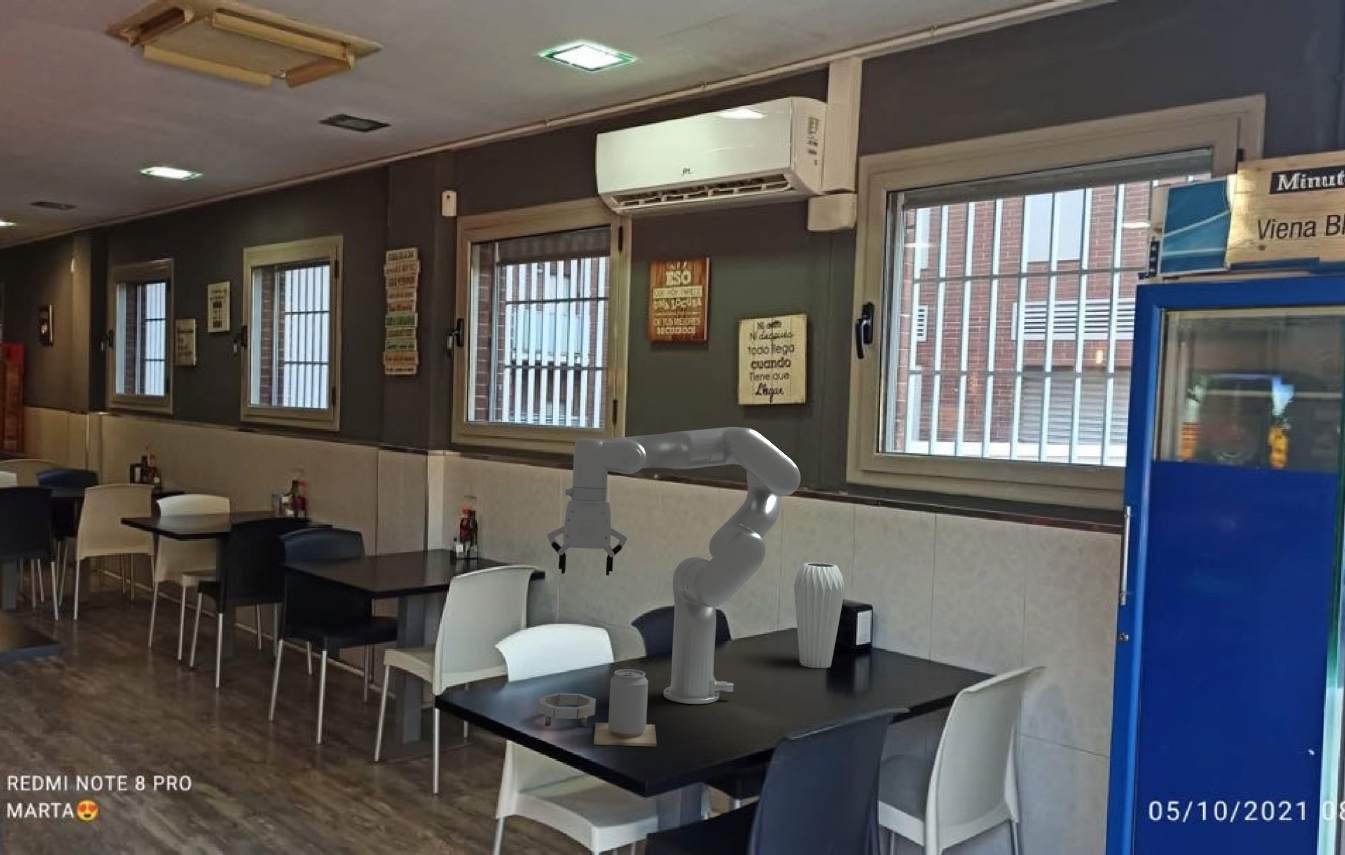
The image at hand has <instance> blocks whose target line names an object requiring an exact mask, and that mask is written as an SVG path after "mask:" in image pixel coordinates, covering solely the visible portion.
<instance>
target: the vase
mask: <svg viewBox="0 0 1345 855" xmlns="http://www.w3.org/2000/svg"><path fill="white" fill-rule="evenodd" d="M793 589H794V592H793V593H794V606H795V616H796V631H797V643H798V644H797V645H798V655H799V656H798V657H799V664H800V663H801V664H800V665H801V666H803V667H807V668H812V669H827V668H831V666H832V661H833V656H834V651H835V644H836V641H837V634H838V631H839V630H838V628H839V623H840V618H841V613H842V607H843V600H844V595H845V584H844V577H843V574H842V572H841V571H840V569H839V566H838V565H836V564H832V563H829V562H828V563H826V562H804V563H803V564H802V566H801V567H800V569H799V571H798V572H797V574H796V577H795V580H794V584H793Z"/></svg>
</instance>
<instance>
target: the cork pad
mask: <svg viewBox="0 0 1345 855" xmlns="http://www.w3.org/2000/svg"><path fill="white" fill-rule="evenodd" d="M656 734H657V733H656V725H655V724H647V723H646V730H645V731H643V732H642V734H640V735H638V736H634V737H623V736H618V735H615V734H613V733H612V731H611V730H610V729H609V728H608V722H595V728H594V736H593V737H594V738H593V745H598V746H599V745H602V746H603V745H604V746H627V747H628V746H630V747H631V746H632V747H657V736H656Z"/></svg>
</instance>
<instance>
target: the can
mask: <svg viewBox="0 0 1345 855" xmlns="http://www.w3.org/2000/svg"><path fill="white" fill-rule="evenodd" d="M613 674H614V675H613V676H612V677H611V678H610V680H609V681H610V684H609V688H610V689H609V699H608V700H609V702H608V703H609V704H608V706H609V707H608V721H607V723H608V728H609V729H610V730H611V731H612V733H613V734H615V735H618V736H623V737H634V736H638V735H640V734H642V732H643V731H645V730H646V724H647V715H648V714H647V710H648V696H649V695H648V694H649V693H648V692H649V691H648V690H649V680H648V679H647V677H646V672H644V671H642V670H640V669H639V670H638V669H634V668H633V669H632V668H631V669H630V668H624V669H616V670H615V671H614V672H613Z"/></svg>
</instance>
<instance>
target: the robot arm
mask: <svg viewBox="0 0 1345 855" xmlns="http://www.w3.org/2000/svg"><path fill="white" fill-rule="evenodd" d="M573 446H574V447H573V466H572V485H571V487H570V488H565V496H569V497H570V498H571V500H568V502H567V505H566V509H565V515H564V524H563V526H561V527H559V528H557V529H555V530H553V531H551V532H548V533H547V535H546V537H547V540H548V541H549V543H550V545H551V547H552V549H554V551H555V552H556V553H557V554H558V570H561V572H560V573H561V575H564V574H565V573H566V570H567V569H566V568H567V567H566V566H567V554H566V551H567V550H568V549H569V548H572V549H573V548H574V549H576V548H577V549H595V550H596V549H597V550H598V549H599V550H600V549H601V550H602V549H604V551H605V552H606V555H607V556H606V562H605V563H606V564H605V565H606V566H605V576H606V577H607V576H608V577H609V576H610V572H614V570H613V569H614V566H613V565H614V557H615V556H616V555H617V554H619V552H620V551H621V550H622V549H623V547H624V546H625V544H626V542H627V541H628V537H627V536H625V535H624V534H622V533H621V532H618V531H617V530H615V529H613V528H612V514H611V513H612V512H611V506H610V505H611V504H610V502H608V501H607V490H608V489H607V488H608V472H613V473H619V474H623V475H625V474H626V475H631V474H635V473H637V472H639V471H640V470H642V469H645V468H646V469H647V468H665V469H666V468H667V469H674V470H682V469H683V470H689V469H699V468H707V467H714V466H715V467H716V466H725V465H728V466H729V465H739V466H741V467H742V468H743V469H745V471H746V481H747V482H746V484H747V494H746V499H745V500H744V501H743V503H742V505H741V506H740V507H739V508H738V510H736V511H735V513H734V514H733V515H732V516H731V517H730V518H729V519H728V520H727V521H726V522H725V523H724V524H723V525H721V527H720V528H718V529H717V531H716V532H715V533H714V534H713V536H711V539H710V541H709V544H708V548H709V549H708V550H709V553H710V555H711V557H712V558H711V559H710V560H709V559H708V560H707V559H705V558H702V557H698V556H695V557H693V556H692V557H691V556H690V557H688V558H685V559H684V560H682V561H680V562H679V563H678V565H677V566H676V568H675V570H674V573H673V576H672V590H673V593H672V594H673V602H674V604H673V606H674V607H673V608H674V609H673V610H674V613H673V614H674V615H673V616H674V618H673V636H672V655H671V673H670V674H671V675H670V676H671V677H670V686H668V687H665V689H663V696H664V698H666V699H667V700H668V701H669V700H670V701H672V702H675V703H682V704H687V705H689V704H691V705H703V704H711V703H715V702H716V701H718V700H719V699H720V691H721V692H728V693H729V692H732V693H733V692H734V683H733V682H728V681H726V680H725V681H723V680H721V681H720V680H718V681H717V679H716V678H715V675H714V668H715V665H714V663H715V646H716V645H715V644H716V643H715V642H716V630H717V610H716V608H717V607H720V606H722V605H724V604H725V603H727V601H729V600H730V599H731V598H732V597H733V596H735V594H736V593H737V592H738V591H739V590H740V589H741V588H742V587H743V586H745V584H746V583H747V582H748V580H750V579H751V578H752V577H753V576H754V574H755V573H756V572H757V571H758V570H759V568H760V567H761V566H762V564H763V562H764V559H765V557H766V548H767V547H766V544H765V542H764V537H765V536H766V535H767V533H769V531H770V530H771V529H772V527H774V524H776V521H777V519H778V518H779V515H780V514H779V513H780V508H781V507H780V506H781V497H788V496H790V495H792V494H793V493H795V492H796V491H797V490H798V488H799V487H800V483H801V479H802V478H801V472H800V470H799V468H798V466H797V465H796V463H795V462H793V460H792V459H791V458H790V457H789V456H787V455H786V454H784V452H782V451H781V450H780V449H779V448H777V447H776V446H775V445H774V443H771V441H769V440H768V439H766V438H765V436H763V435H762V434H761V433H759V432H758V431H756V430H755V429H753V428H750V427H749V428H748V427H738V426H728V427H727V426H726V427H717V428H706V429H695V430H683V431H673V432H665V433H658V434H646V435H634V436H633V435H632V436H625V437H624V436H623V437H613V438H610V439H609V440H607V441H606V440H605V439H602V438H601V439H600V438H579V439H577V440H576V441H575V443H574V445H573ZM560 535H563V537H562V539H563V544H562V545H560V544H559V543H558V542H557V540H556V537H558V536H560ZM611 536H612V537H614V538H616V539H618V543H617V545H616V546H614V547H613V548H612V547H611V545H610V544H611V538H612V537H611Z"/></svg>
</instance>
